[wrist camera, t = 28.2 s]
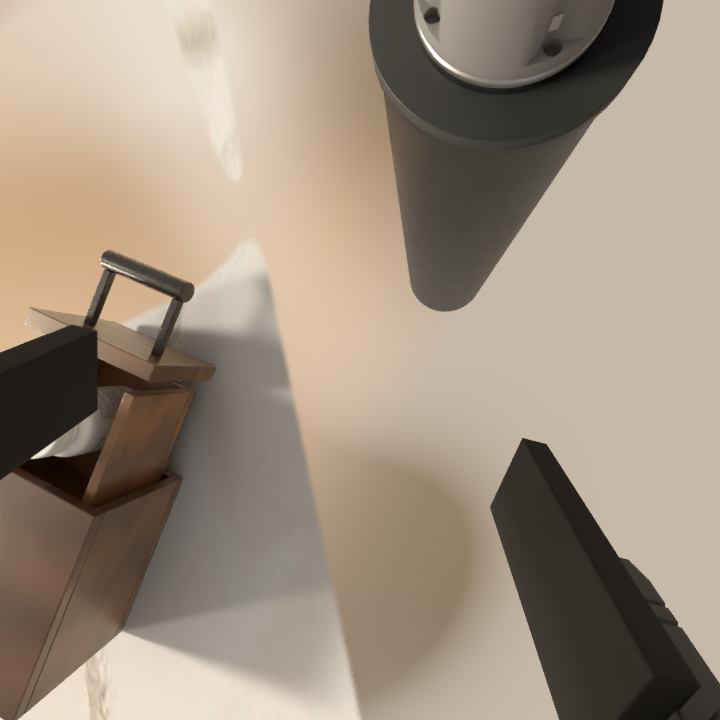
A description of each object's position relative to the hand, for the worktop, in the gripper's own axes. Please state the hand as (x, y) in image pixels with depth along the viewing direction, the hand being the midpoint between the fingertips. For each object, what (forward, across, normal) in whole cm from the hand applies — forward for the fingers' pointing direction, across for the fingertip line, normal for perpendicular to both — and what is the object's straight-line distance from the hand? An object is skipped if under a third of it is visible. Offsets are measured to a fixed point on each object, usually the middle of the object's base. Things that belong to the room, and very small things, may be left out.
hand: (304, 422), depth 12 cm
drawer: (+20, -15, -12) cm, 28 cm away
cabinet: (+16, -17, -25) cm, 34 cm away
